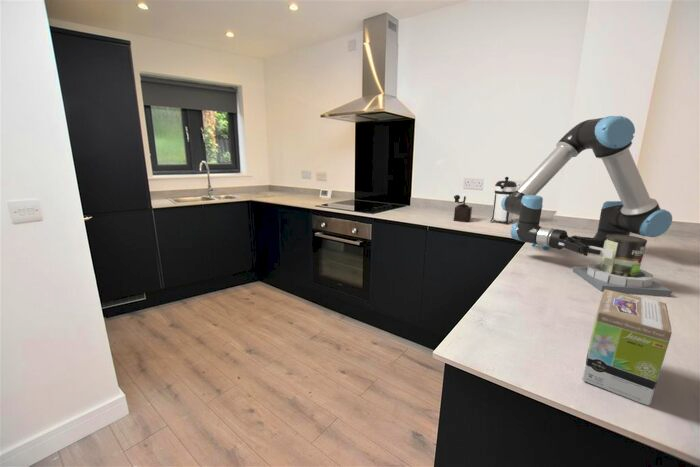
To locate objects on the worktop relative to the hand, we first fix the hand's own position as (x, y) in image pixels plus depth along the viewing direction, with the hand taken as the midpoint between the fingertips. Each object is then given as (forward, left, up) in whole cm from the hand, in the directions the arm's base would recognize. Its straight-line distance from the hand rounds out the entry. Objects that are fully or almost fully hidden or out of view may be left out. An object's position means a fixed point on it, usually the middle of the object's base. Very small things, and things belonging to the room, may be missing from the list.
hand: (620, 251), depth 107 cm
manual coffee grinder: (+36, -101, -11) cm, 109 cm away
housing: (-1, +1, -11) cm, 11 cm away
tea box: (+29, +55, -11) cm, 63 cm away
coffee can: (0, +1, -9) cm, 9 cm away
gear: (+8, -43, -11) cm, 45 cm away
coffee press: (+10, -104, -11) cm, 106 cm away
